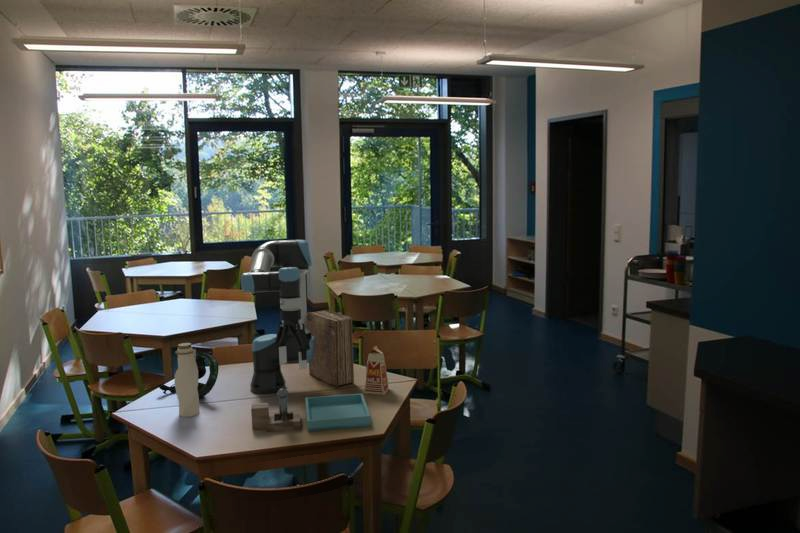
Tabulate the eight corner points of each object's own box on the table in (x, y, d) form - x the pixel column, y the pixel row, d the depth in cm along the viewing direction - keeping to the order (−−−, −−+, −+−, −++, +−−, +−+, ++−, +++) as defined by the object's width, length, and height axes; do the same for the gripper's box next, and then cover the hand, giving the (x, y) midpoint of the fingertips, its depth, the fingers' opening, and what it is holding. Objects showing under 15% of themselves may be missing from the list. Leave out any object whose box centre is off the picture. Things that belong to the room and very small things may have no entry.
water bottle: (180, 408, 267) (176, 341, 263) (203, 407, 268) (199, 340, 264) (174, 418, 257) (169, 347, 253) (198, 416, 258) (193, 346, 254)
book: (354, 383, 295) (352, 317, 290) (336, 388, 289) (333, 320, 285) (326, 370, 315) (324, 308, 311) (309, 374, 310) (306, 311, 306)
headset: (183, 411, 289) (224, 390, 274) (154, 406, 279) (195, 383, 264) (184, 373, 298) (224, 350, 283) (157, 366, 288) (197, 342, 274)
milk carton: (384, 394, 279) (383, 348, 277) (363, 393, 281) (362, 347, 278) (389, 387, 288) (388, 342, 285) (368, 386, 290) (367, 342, 287)
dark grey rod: (278, 423, 250) (276, 387, 248) (289, 422, 250) (287, 386, 248) (278, 426, 246) (276, 390, 244) (289, 426, 246) (287, 389, 244)
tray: (305, 407, 266) (305, 397, 266) (362, 402, 270) (362, 393, 269) (307, 431, 241) (307, 421, 240) (370, 426, 244) (370, 415, 244)
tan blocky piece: (253, 421, 252) (252, 401, 251) (300, 417, 255) (299, 397, 254) (251, 433, 240) (250, 412, 239) (300, 429, 243) (299, 408, 242)
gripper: (264, 307, 251) (266, 363, 253) (300, 313, 232) (302, 372, 234) (281, 305, 256) (283, 360, 258) (318, 310, 237) (320, 369, 239)
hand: (292, 366), depth 246 cm, fingers open, 13 cm apart
